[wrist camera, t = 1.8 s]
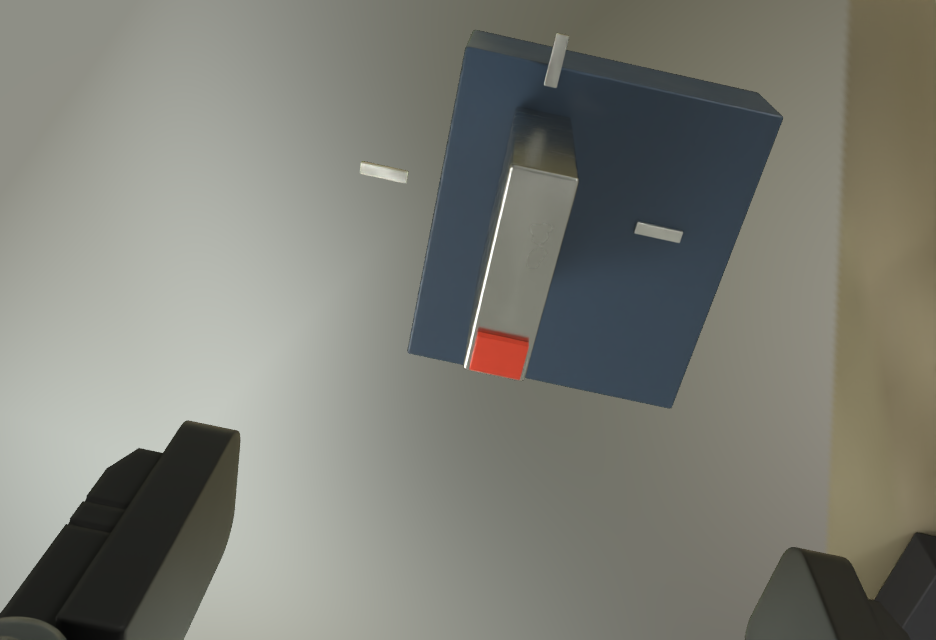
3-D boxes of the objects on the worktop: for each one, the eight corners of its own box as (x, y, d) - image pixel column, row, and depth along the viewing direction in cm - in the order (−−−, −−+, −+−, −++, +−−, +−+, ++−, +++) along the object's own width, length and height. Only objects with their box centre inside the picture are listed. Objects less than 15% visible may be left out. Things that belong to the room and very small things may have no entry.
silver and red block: (516, 104, 23) (510, 167, 18) (571, 116, 23) (581, 182, 18) (476, 278, 26) (461, 375, 21) (527, 288, 26) (523, 388, 21)
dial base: (402, -18, 25) (384, -5, 22) (769, 64, 25) (798, 87, 22) (354, 298, 30) (335, 341, 27) (659, 363, 30) (672, 412, 27)
